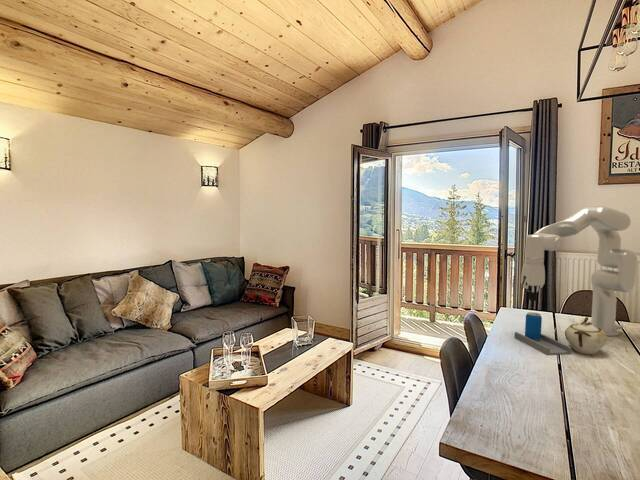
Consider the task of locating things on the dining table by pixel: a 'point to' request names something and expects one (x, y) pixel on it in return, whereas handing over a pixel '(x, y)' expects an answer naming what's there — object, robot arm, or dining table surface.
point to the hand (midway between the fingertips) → (532, 300)
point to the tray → (545, 345)
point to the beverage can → (533, 326)
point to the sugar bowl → (585, 337)
